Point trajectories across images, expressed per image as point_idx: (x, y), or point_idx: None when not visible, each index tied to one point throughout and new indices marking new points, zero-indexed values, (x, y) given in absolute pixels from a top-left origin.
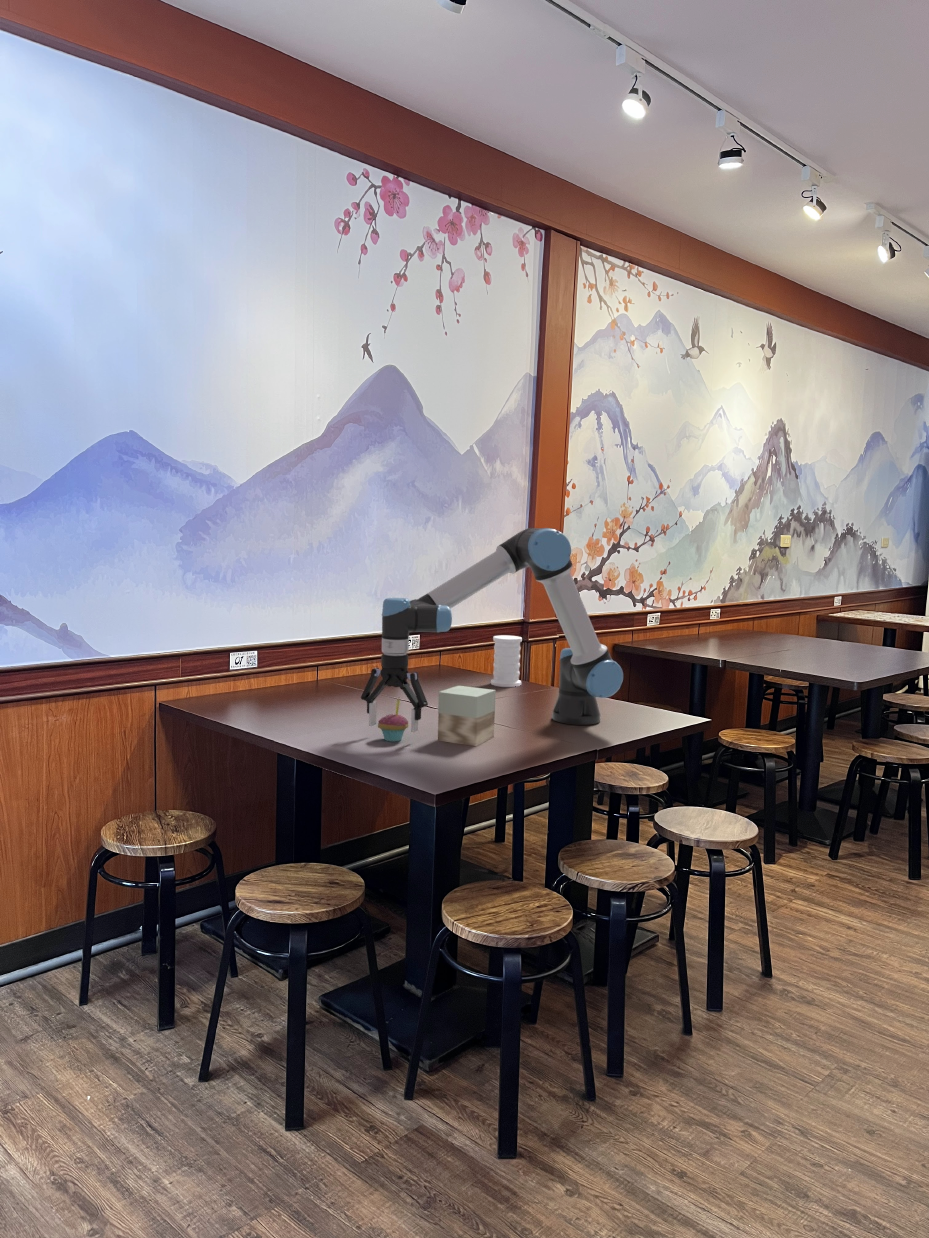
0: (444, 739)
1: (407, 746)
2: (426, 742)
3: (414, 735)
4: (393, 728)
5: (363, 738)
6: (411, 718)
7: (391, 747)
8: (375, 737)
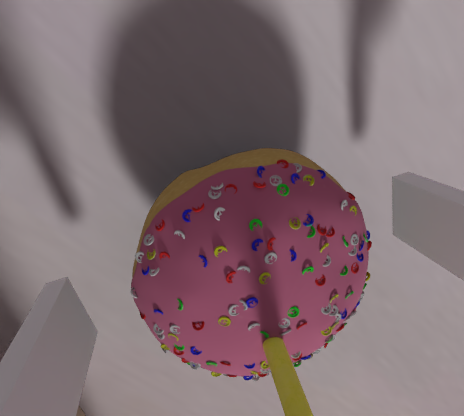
0: None
1: (39, 176)
2: None
3: None
4: (163, 190)
5: (368, 113)
6: (23, 366)
7: (83, 73)
8: None
